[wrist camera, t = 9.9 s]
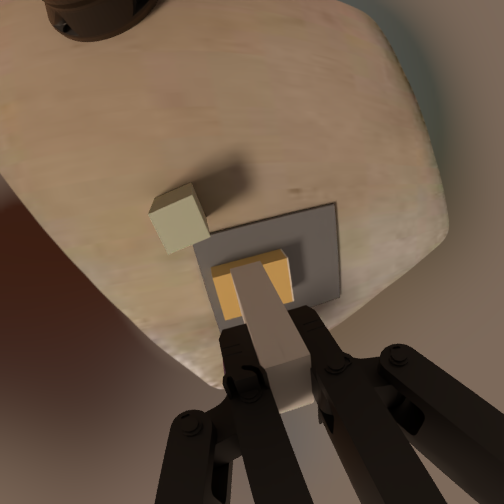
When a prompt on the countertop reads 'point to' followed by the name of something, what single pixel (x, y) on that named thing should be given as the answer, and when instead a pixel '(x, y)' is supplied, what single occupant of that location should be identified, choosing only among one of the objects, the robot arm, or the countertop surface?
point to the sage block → (179, 219)
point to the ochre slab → (274, 267)
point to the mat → (293, 245)
